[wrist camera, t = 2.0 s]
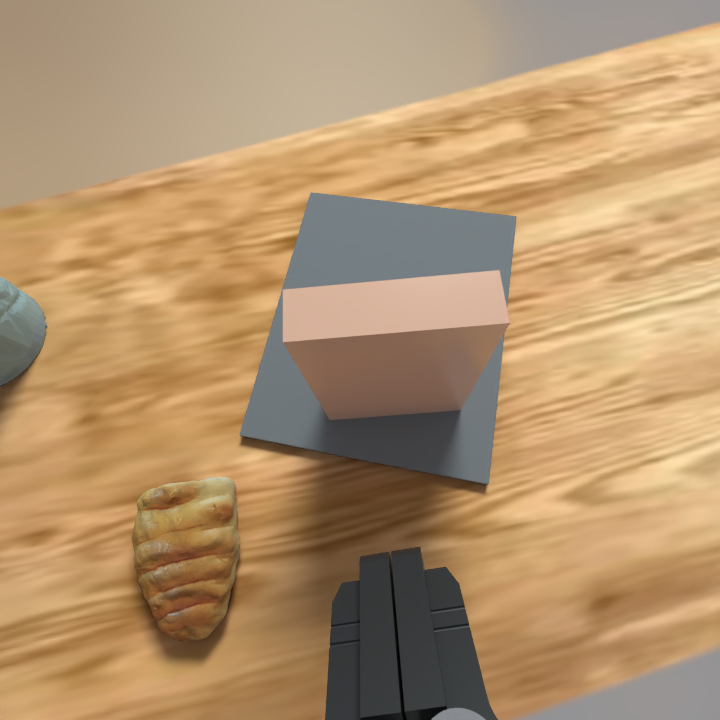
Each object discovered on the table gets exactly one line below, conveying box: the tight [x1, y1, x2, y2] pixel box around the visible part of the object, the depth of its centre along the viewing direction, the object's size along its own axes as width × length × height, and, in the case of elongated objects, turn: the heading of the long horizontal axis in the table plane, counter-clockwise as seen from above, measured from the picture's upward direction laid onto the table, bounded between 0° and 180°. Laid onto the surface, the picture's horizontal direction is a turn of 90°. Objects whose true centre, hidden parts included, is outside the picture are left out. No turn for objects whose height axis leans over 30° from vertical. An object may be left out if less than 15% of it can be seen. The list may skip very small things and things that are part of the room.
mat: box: [240, 193, 516, 485], centre depth 34 cm, size 17×21×1 cm
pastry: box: [132, 477, 240, 641], centre depth 28 cm, size 9×7×4 cm
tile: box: [283, 270, 510, 420], centre depth 25 cm, size 2×9×14 cm, turn 93°
